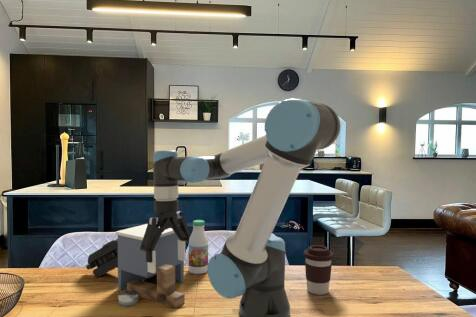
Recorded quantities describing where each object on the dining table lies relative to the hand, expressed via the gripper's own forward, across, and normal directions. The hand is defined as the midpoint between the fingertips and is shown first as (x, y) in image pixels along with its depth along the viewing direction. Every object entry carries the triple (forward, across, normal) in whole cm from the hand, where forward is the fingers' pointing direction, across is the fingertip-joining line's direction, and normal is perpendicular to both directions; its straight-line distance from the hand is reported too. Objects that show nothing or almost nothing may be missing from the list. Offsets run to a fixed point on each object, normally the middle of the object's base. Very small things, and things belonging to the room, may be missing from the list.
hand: (167, 266), depth 113 cm
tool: (+11, -5, -33) cm, 35 cm away
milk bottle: (+11, -27, -9) cm, 30 cm away
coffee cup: (+13, -35, +37) cm, 52 cm away
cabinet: (+11, -7, -14) cm, 19 cm away
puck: (+11, +7, -10) cm, 17 cm away
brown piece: (+11, 0, -6) cm, 13 cm away
